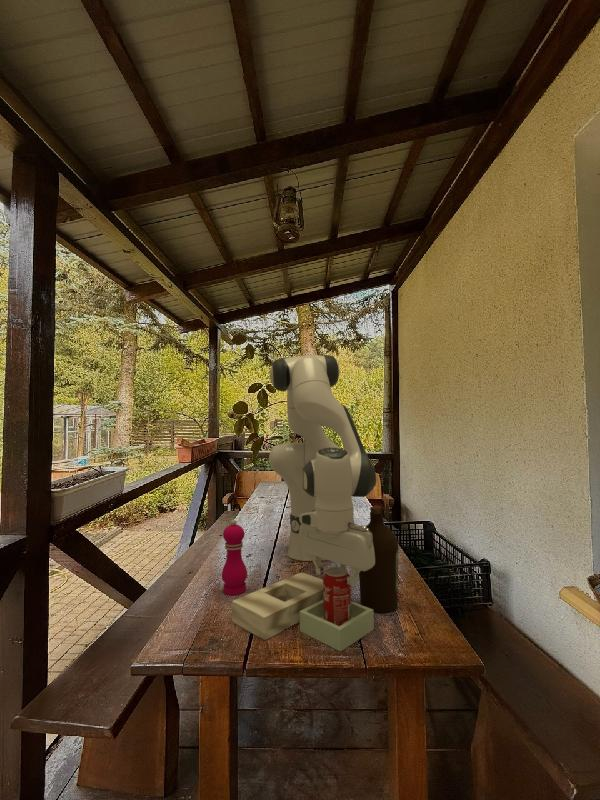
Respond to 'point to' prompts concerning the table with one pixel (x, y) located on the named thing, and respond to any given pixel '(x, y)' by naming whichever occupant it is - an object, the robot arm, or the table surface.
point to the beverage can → (336, 596)
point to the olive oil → (381, 567)
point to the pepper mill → (234, 560)
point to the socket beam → (277, 605)
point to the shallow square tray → (334, 634)
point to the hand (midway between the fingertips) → (335, 579)
